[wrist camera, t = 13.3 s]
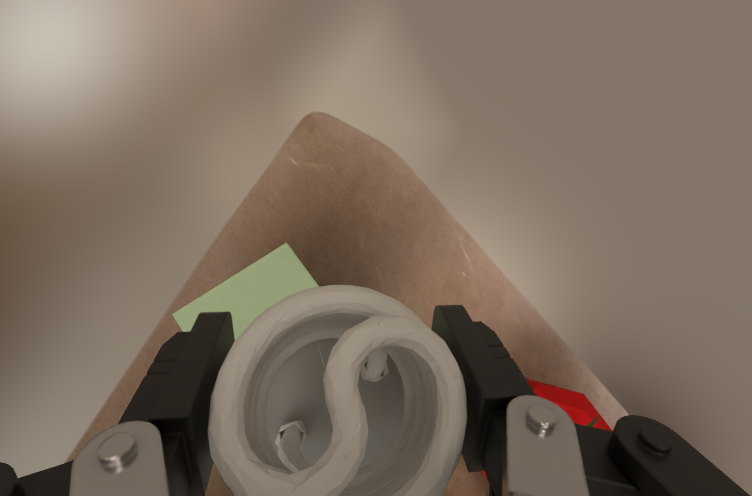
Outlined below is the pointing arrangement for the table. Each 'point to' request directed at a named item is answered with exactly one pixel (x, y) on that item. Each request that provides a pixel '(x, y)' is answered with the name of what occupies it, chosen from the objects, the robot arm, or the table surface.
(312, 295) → the light bulb
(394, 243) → the table surface
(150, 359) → the table surface
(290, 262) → the green side table
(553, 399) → the apple
